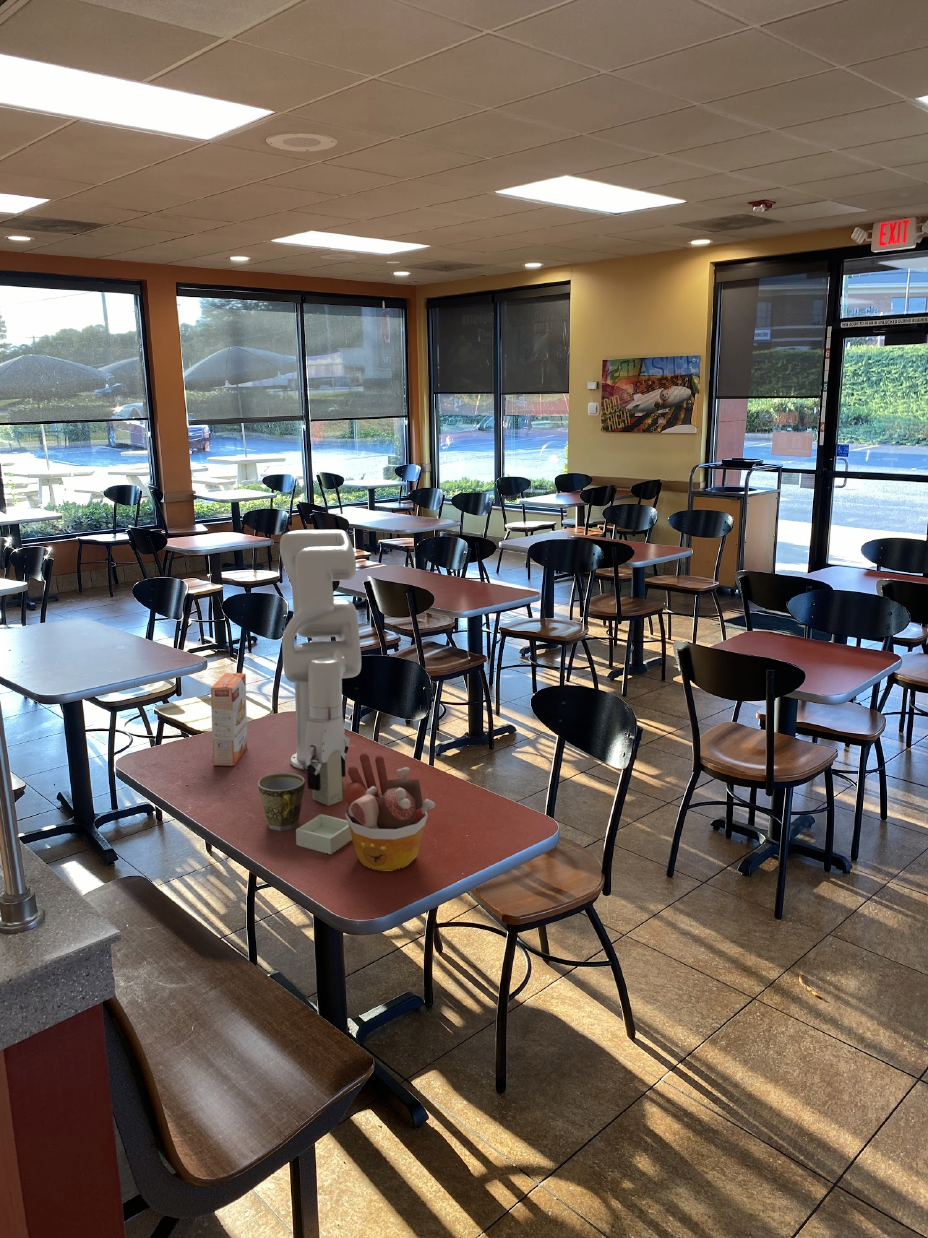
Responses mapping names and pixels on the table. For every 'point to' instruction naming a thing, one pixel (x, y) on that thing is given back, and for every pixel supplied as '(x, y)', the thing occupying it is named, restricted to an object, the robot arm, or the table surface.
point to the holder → (324, 834)
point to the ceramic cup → (282, 799)
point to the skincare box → (330, 780)
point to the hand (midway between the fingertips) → (326, 782)
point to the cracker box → (229, 719)
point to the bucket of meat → (385, 816)
